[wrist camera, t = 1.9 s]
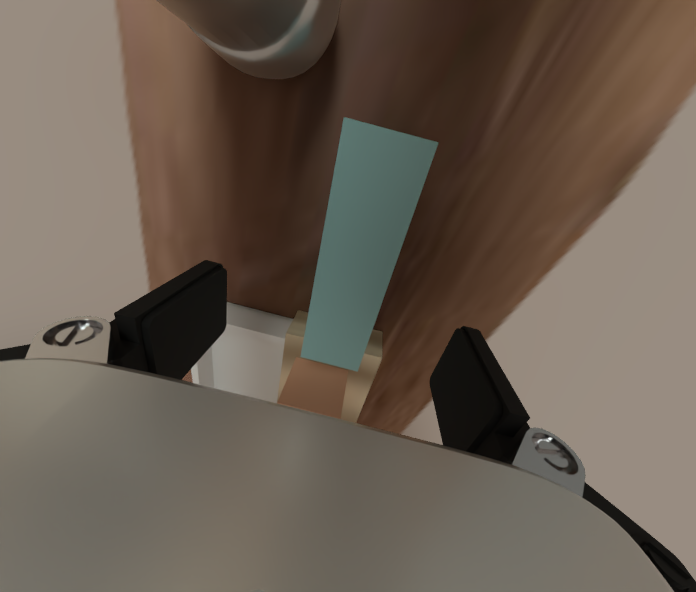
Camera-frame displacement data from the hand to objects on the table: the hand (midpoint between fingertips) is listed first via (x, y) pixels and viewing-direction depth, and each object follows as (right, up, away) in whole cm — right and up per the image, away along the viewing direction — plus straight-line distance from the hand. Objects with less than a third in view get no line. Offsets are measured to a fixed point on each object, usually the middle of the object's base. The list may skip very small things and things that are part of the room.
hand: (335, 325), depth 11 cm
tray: (-9, -6, +14) cm, 18 cm away
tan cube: (-2, -5, +10) cm, 11 cm away
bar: (+1, +5, +7) cm, 9 cm away
